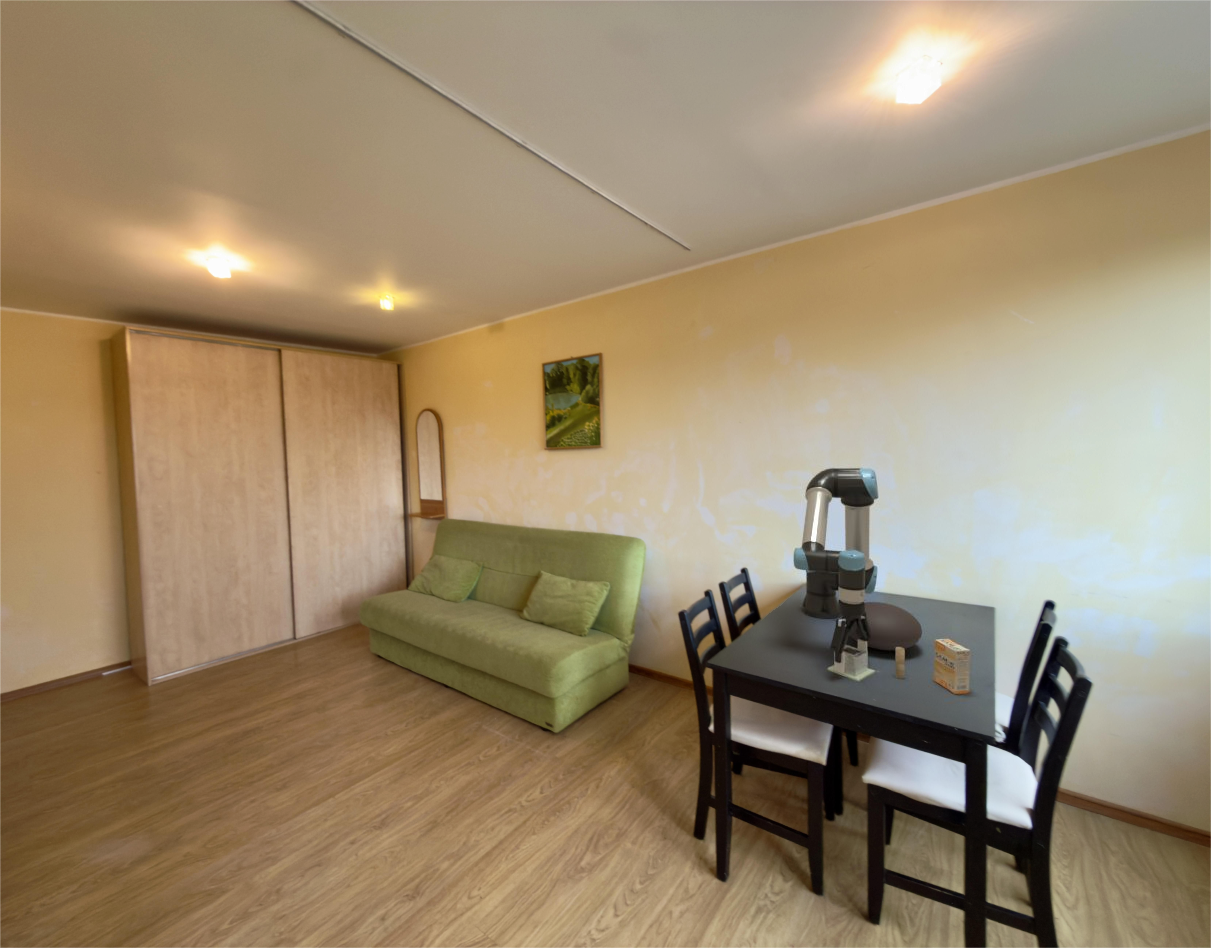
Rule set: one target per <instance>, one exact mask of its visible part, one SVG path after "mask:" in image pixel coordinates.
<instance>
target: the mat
mask: <svg viewBox="0 0 1211 948" xmlns="http://www.w3.org/2000/svg"><path fill="white" fill-rule="evenodd" d="M827 671H828V672H832V673H835V674H837V675H839V676H842V677H845V678H847V679H850V680H853V681H855V682H861V681H863V680H864V679H866V678H868V677H870V676H871V675H874V674H876V670H874V669H871V668H869V667H868V670H867V671H865V672H863V673H862V674H860V675H858V676H853V675H850V674H848V673H845V672H844V674H842V673H839V672H837V671H835V669H834V664H833V665H832V666H829V667H828V668H827Z"/></svg>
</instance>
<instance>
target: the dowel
mask: <svg viewBox="0 0 1211 948" xmlns="http://www.w3.org/2000/svg"><path fill="white" fill-rule="evenodd" d="M905 650H906V649H904V648H902V647H896V650H895V660H894V661H895V666H894V667H895V669H894V672H895V673H894V675H895V676H894V677H896V679H901V680H903V679H905V655H906V653H905V652H906V651H905Z"/></svg>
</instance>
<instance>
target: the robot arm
mask: <svg viewBox="0 0 1211 948" xmlns="http://www.w3.org/2000/svg"><path fill="white" fill-rule="evenodd" d="M804 495H805V496H804V498H805V499H806V501H807V503H806V509H805V516H804V517H805V518H804V523H803V524H804V525H803V532H802V533H803V534H802V540H801V541H802V542H801V547H795V548H794V550H793V566H794V568H795V569H796V570H801V571H805V574H806V576H805V578H806V585H805V586H806V588H805V589H806V594H805V596H804V599H803V601H802V604H801V611H802V613H803V614H805V615H807V616H810V617H813V618H818V619H835V618H836V619H835V628H834V631H833V635H832V640H831V643H830V646H829V647H830V648H829V650H830V651H832V652H835V671H837V672H839V673H842V674H844V652H843V650H844V647H845V645H847V642H848V639H849V636H850V634H851V633H852V631H853V630H855V631H856V633H857V635H858V637H859V638H860V639H861V640H860V639H858V641H857V648H858V649H861V650H864V651H867V652H868V646H867V641H869V642H870V641H871V638H869V637H871V632H870V629H869V625H868V622H867V617H866V612H865V602H866V601H865V600H866V596H867V595H866V594H868V595H870V594H873V593H874V592H875V590H876V589H875V588H876V585H877V577H878V567H877V565H874V561H873V560H872V559H871V558H870V507H872V505H874V504H875V501H876V500H877V499H879V489H878V481H877V475H876V471H875V470H874V469H872V468H863V467H858V468H857V467H849V468H847V467H846V468H844V467H843V468H842V467H841V468H838V467H837V468H836V467H835V468H834V467H830V468H826V469H823V470H822V471H820V472H818V473H817V474H815V476H814V477H813V478H811V480H810V481H809V483H808V484H807V486H806V488H805V494H804ZM833 498H835V499H840V503H841V505H843V506H844V524H845V525H844V528H845V529H844V531H845V533H844V537H845V538H844V539H845V542H844V543H845V548H844V549H845V550H831V549H825V548H826V541H827V539H826V537H827V530H828V529H827V525H828V518H829V517H828V515H829V514H828V513H829V506H830V505H829V504H830V503H831V502H832V501H833ZM837 592H838V594H837ZM837 596H838V597H837ZM838 599H839V600H838ZM840 616H842V618H841V619H840V618H839V617H840ZM866 632H867V633H866Z"/></svg>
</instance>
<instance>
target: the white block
mask: <svg viewBox="0 0 1211 948" xmlns="http://www.w3.org/2000/svg"><path fill="white" fill-rule="evenodd" d="M833 652H834V651H833ZM843 652H844V672H845V673H848V674H850V675H853V676H858V675H860V674H862V673H863V672H865V671H867V670H868V668H869V667H868V660H869V659H868V657H869V656H868V655H869V652H868V650H867V651H864V650H861V649H858V647H854V646H851V645H847V644H846V645H845V647H844V650H843ZM833 657H834V659H833V661H834V664H833V665H834V669H835V652H834V653H833Z"/></svg>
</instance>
